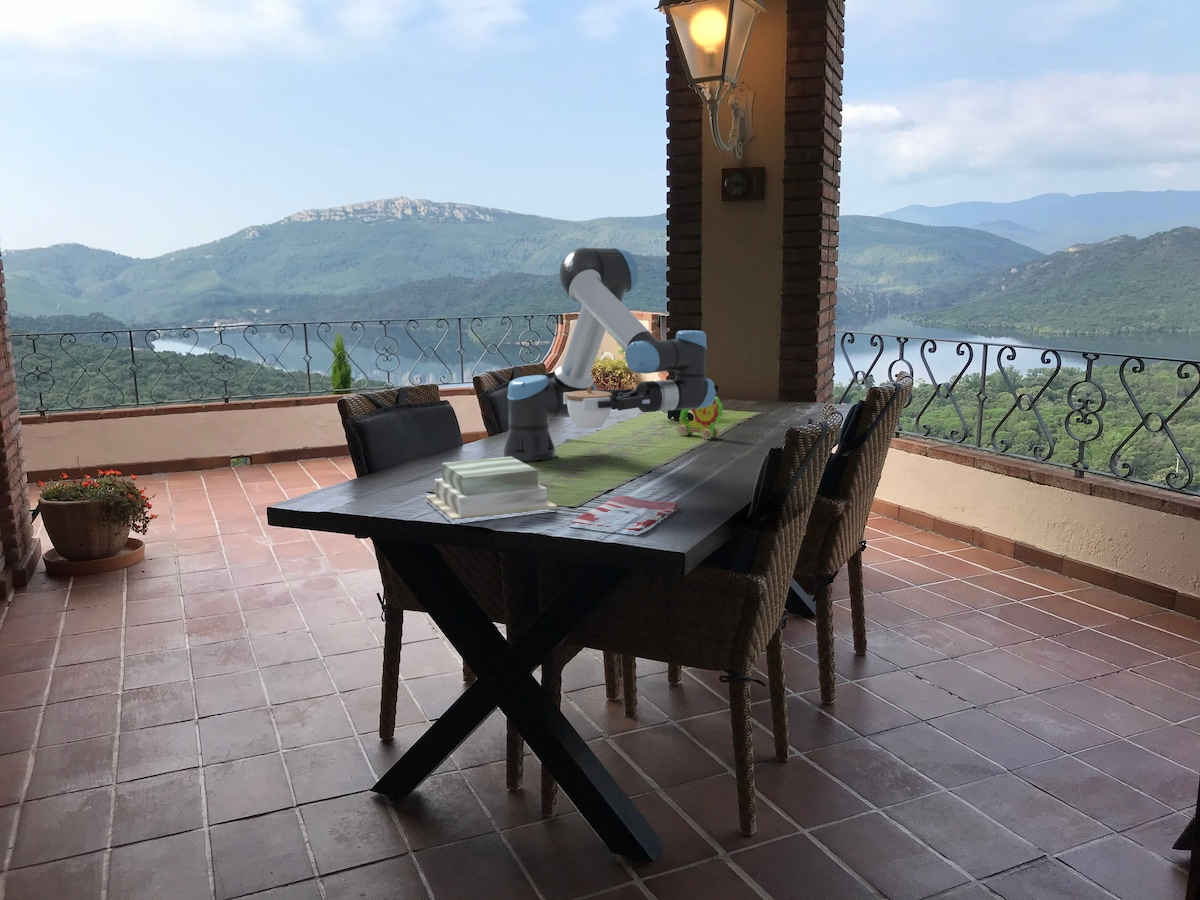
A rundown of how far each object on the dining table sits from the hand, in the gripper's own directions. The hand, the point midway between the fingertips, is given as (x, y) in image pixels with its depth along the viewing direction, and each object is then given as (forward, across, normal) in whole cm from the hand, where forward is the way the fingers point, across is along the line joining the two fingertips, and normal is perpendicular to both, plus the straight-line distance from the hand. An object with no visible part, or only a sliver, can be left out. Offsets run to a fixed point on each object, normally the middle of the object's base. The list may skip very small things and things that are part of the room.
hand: (573, 401), depth 206 cm
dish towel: (-3, -22, -24) cm, 32 cm away
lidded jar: (-4, 0, -6) cm, 8 cm away
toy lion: (-70, +55, -24) cm, 92 cm away
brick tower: (+21, 0, -23) cm, 31 cm away
